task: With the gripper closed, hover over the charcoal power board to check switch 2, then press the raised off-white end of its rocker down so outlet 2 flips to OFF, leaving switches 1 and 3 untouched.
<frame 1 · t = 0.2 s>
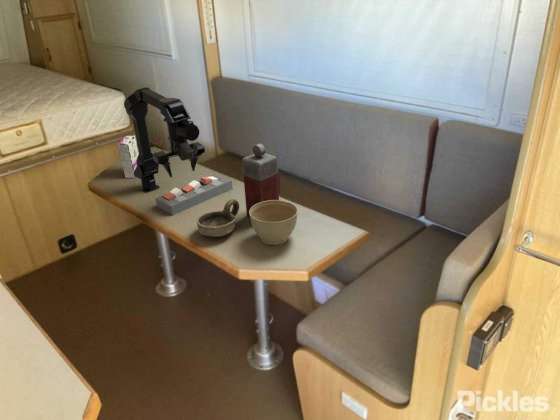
hand: (182, 173, 180), 14 cm above the table, fingers open, 9 cm apart
rocker 2: (191, 187, 192), point 4 cm above the table, hinge at 16.0°
candy bar box: (133, 173, 218), on the table
planter bowl: (275, 238, 162), on the table
rocker 1: (173, 194, 187), point 4 cm above the table, hinge at 16.0°
rocker 3: (209, 180, 198), point 4 cm above the table, hinge at -16.0°
power board: (195, 197, 193), on the table
bowl: (221, 231, 168), on the table
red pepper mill: (265, 214, 178), on the table
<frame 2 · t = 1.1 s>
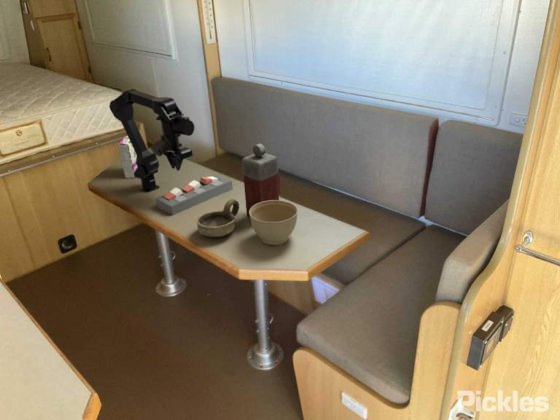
hand: (175, 169, 189), 12 cm above the table, fingers open, 3 cm apart
nothing on the table moved.
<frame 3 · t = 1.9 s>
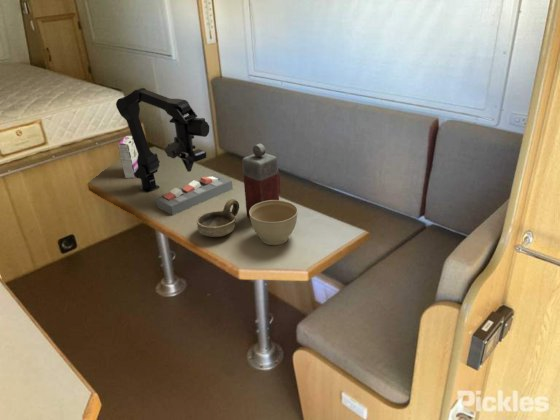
hand: (189, 171, 189), 11 cm above the table, fingers closed
nothing on the table moved.
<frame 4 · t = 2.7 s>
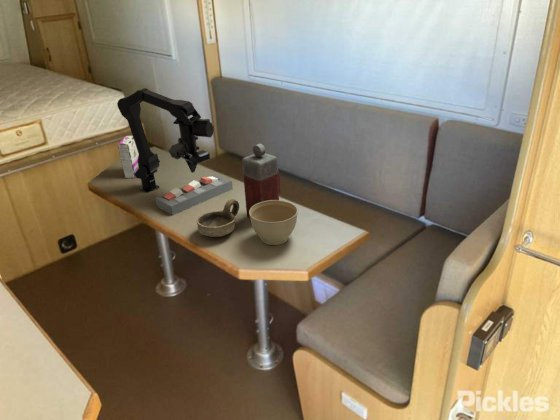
hand: (192, 172, 190), 10 cm above the table, fingers closed
nothing on the table moved.
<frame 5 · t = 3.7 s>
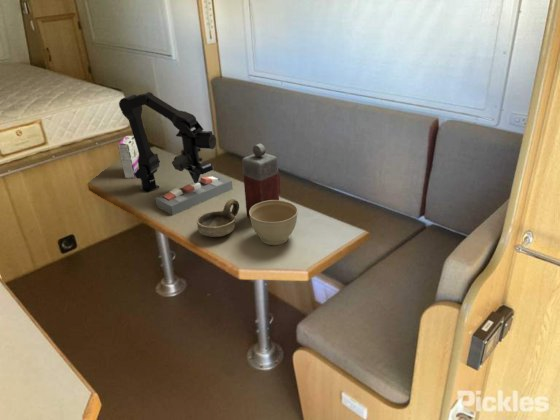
hand: (196, 182, 193), 5 cm above the table, fingers closed, pressing on rocker 2
rocker 2: (191, 187, 192), point 4 cm above the table, hinge at 5.7°, touching gripper
everything else where it was.
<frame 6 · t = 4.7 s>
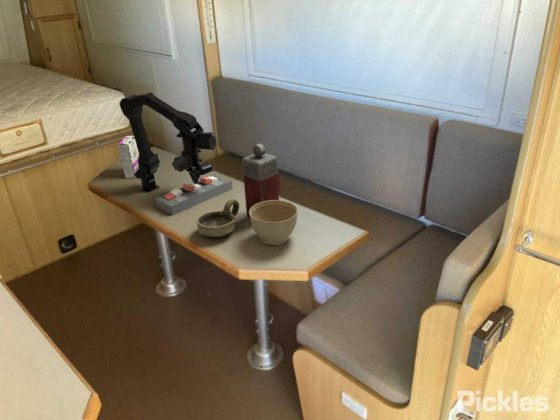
hand: (195, 183, 193), 5 cm above the table, fingers closed
rocker 2: (191, 187, 192), point 4 cm above the table, hinge at -18.8°
everything else where it was.
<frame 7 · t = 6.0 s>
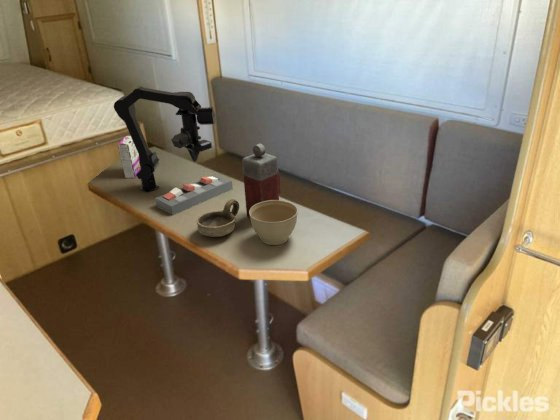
hand: (194, 161, 196), 12 cm above the table, fingers closed
nothing on the table moved.
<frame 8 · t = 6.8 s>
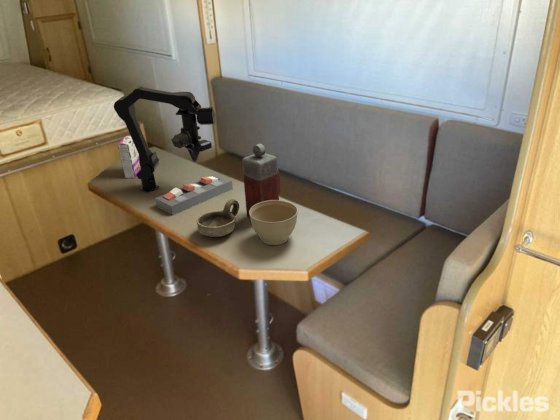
hand: (194, 161, 196), 12 cm above the table, fingers closed
nothing on the table moved.
at the end: rocker 2 at -19° (first picture: +16°); rocker 1 at +16° (first picture: +16°); rocker 3 at -16° (first picture: -16°) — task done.
